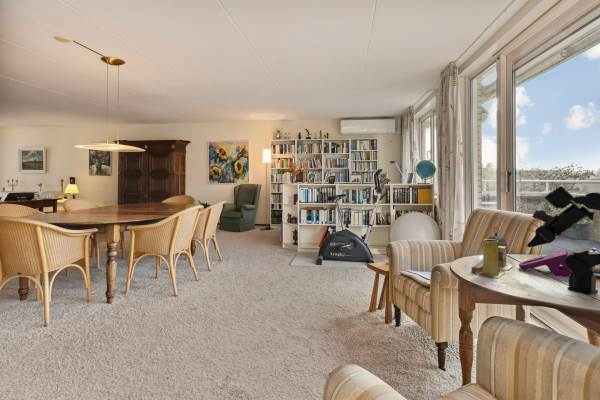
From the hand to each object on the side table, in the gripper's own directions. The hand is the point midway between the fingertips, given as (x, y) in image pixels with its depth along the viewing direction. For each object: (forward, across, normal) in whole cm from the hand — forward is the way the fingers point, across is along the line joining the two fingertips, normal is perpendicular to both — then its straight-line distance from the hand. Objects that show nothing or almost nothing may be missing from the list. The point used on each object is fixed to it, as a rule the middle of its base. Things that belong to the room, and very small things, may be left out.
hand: (530, 244), depth 126 cm
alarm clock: (+24, -28, -3) cm, 37 cm away
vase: (+20, 0, 0) cm, 20 cm away
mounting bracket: (+9, -19, +12) cm, 24 cm away
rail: (+21, -7, 0) cm, 22 cm away
